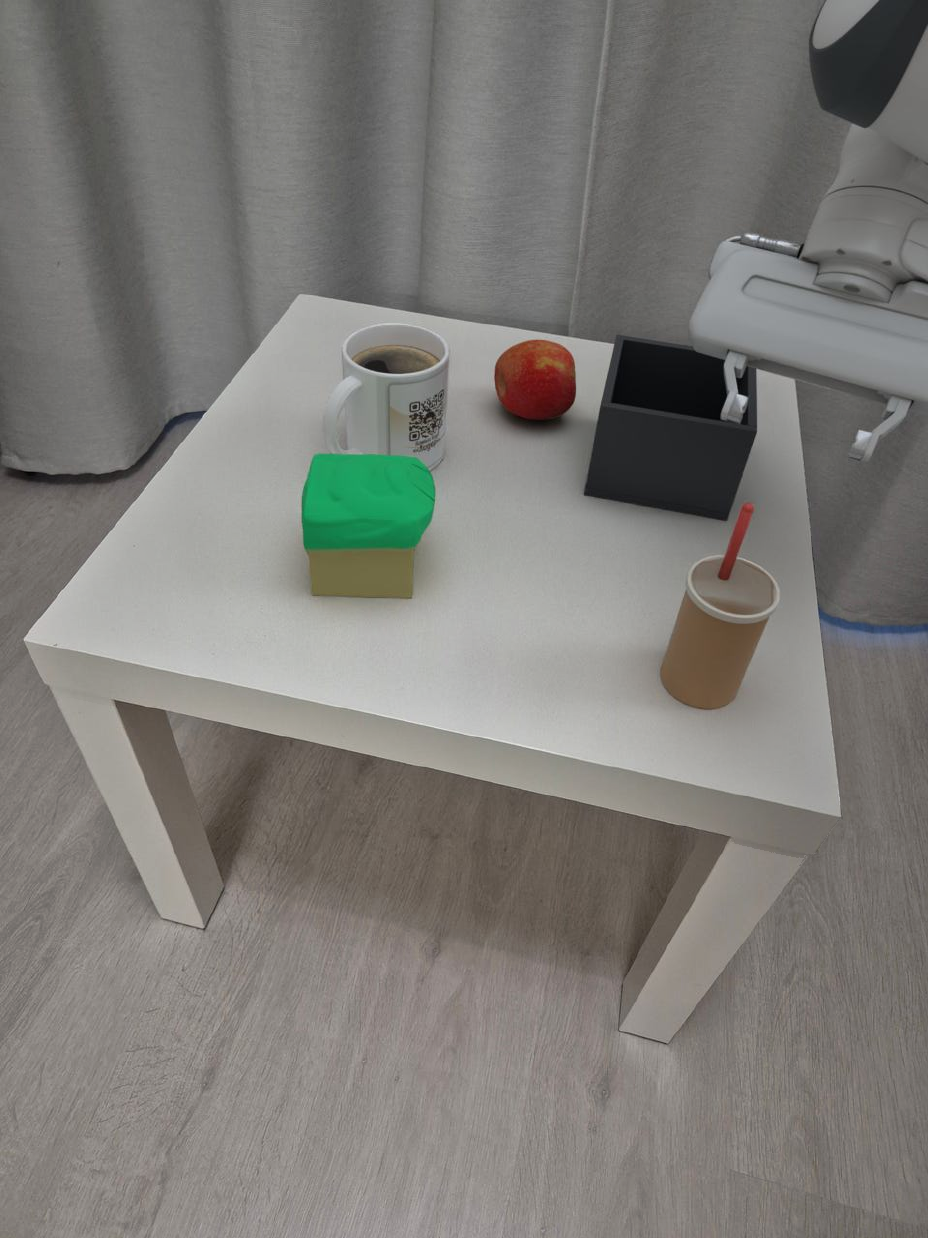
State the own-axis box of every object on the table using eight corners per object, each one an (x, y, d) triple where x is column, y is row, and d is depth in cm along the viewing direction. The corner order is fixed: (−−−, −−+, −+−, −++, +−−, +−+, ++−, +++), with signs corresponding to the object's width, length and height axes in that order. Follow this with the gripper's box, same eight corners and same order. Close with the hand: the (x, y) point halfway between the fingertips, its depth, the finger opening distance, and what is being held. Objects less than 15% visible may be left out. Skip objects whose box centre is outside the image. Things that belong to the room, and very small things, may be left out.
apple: (572, 437, 91) (583, 367, 85) (491, 432, 91) (497, 362, 85) (567, 396, 96) (577, 328, 91) (491, 392, 96) (497, 323, 90)
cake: (432, 605, 72) (435, 509, 65) (302, 601, 72) (291, 504, 65) (433, 529, 79) (436, 435, 72) (314, 525, 79) (306, 430, 72)
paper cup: (757, 691, 68) (832, 525, 56) (696, 723, 65) (761, 557, 53) (701, 638, 71) (759, 472, 60) (640, 667, 69) (689, 500, 57)
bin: (727, 520, 82) (757, 431, 75) (583, 495, 84) (600, 405, 77) (729, 441, 92) (756, 356, 85) (600, 419, 93) (616, 334, 86)
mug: (452, 480, 84) (458, 377, 77) (327, 487, 83) (319, 382, 75) (438, 420, 92) (441, 320, 84) (322, 425, 90) (314, 323, 82)
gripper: (725, 205, 64) (654, 385, 64) (1027, 274, 58) (946, 472, 58) (724, 245, 70) (660, 410, 70) (998, 312, 64) (925, 490, 64)
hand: (792, 439), depth 64 cm, fingers open, 8 cm apart
